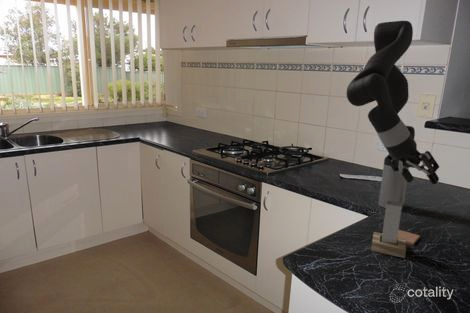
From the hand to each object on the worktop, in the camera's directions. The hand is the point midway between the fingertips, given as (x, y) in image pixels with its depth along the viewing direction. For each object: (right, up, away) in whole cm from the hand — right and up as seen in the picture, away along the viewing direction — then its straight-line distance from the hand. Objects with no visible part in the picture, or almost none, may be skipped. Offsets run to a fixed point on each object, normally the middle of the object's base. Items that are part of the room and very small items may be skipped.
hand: (422, 181), depth 104 cm
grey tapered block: (-9, -20, +2) cm, 22 cm away
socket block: (-9, -20, +2) cm, 22 cm away
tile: (-1, -19, +10) cm, 21 cm away
